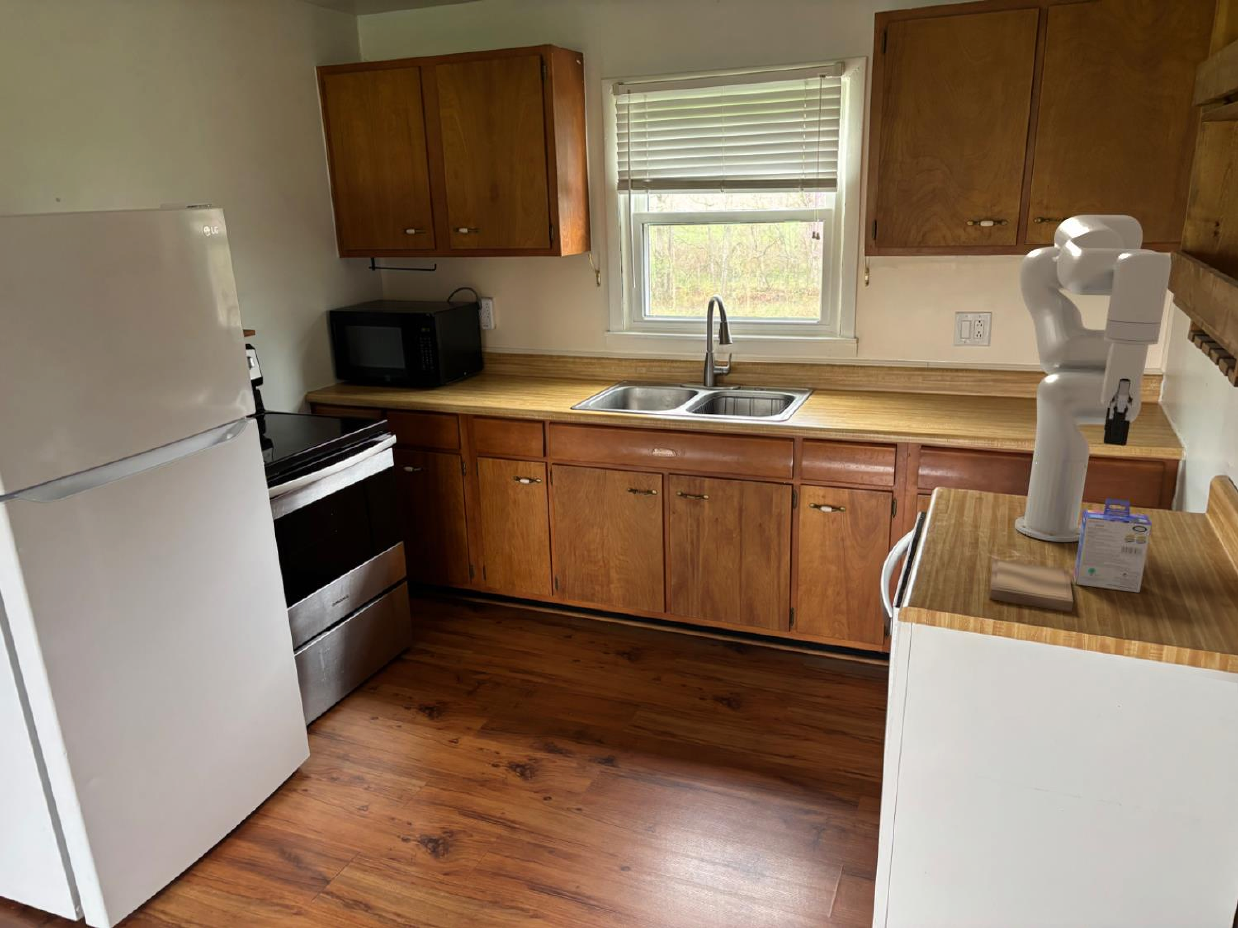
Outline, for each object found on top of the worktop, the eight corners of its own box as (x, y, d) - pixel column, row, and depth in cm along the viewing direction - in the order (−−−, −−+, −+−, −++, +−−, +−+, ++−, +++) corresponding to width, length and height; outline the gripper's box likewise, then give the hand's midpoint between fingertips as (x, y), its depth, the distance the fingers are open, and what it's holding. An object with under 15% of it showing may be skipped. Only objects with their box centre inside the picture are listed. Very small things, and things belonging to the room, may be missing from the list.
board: (991, 568, 157) (993, 558, 157) (1067, 579, 153) (1068, 569, 152) (989, 598, 145) (991, 588, 144) (1071, 612, 140) (1073, 601, 140)
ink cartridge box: (1135, 581, 152) (1150, 501, 148) (1141, 594, 147) (1156, 511, 143) (1071, 573, 156) (1084, 494, 151) (1075, 585, 151) (1088, 504, 146)
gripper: (1105, 325, 149) (1090, 425, 154) (1104, 336, 134) (1087, 446, 139) (1157, 328, 146) (1139, 430, 150) (1161, 340, 131) (1142, 452, 136)
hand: (1114, 437), depth 145 cm, fingers open, 9 cm apart
